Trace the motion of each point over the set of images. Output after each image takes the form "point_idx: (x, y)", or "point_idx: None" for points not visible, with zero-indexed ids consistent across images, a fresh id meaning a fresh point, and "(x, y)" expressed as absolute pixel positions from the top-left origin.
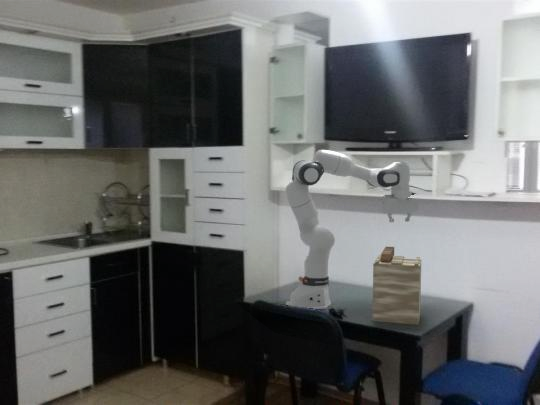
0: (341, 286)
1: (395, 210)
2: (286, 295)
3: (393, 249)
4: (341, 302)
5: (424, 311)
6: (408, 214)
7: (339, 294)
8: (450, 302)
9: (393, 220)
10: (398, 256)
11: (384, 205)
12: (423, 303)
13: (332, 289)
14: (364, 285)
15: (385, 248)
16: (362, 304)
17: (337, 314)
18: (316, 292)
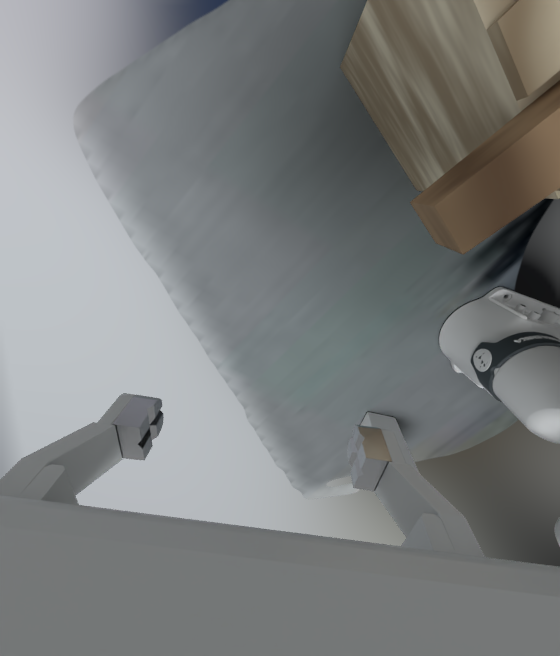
0: (299, 416)
1: (419, 613)
2: (459, 415)
3: (498, 151)
4: (414, 314)
5: (294, 98)
6: (71, 485)
7: (357, 370)
8: (139, 144)
9: (367, 438)
10: (524, 57)
11: None
12: (228, 184)
13: (336, 407)
14: (246, 399)
15: (553, 184)
16: (387, 272)
17: (527, 226)
18: (542, 323)
